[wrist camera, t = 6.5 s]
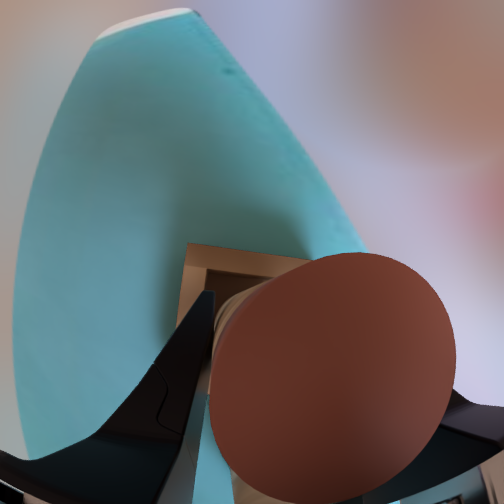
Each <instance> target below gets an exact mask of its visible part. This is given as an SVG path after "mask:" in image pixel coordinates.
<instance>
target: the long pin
mask: <svg viewBox="0 0 504 504" xmlns="http://www.w3.org/2000/svg"><path fill="white" fill-rule="evenodd" d="M455 369H456V348H455V339H454V334H453V329H452V325H451V322H450V319H449V316H448V314H447V312H446V309H445V307H444V305H443V303H442V301H441V300H440V298H439V296H438V295H437V293H436V292H435V290H434V289H433V288H432V287H431V286H430V285H429V283H428V282H427V281H426V280H425V279H424V278H423V277H421V276H420V275H419V274H418V273H417V272H416V271H414V270H413V269H411V268H410V267H408V266H406V265H405V264H403V263H400V262H398V261H396V260H393V259H392V258H389V257H385V256H381V255H377V254H370V253H361V252H358V253H341V254H336V255H331V256H326V257H323V258H320V259H317V260H314V261H311V262H308V263H306V264H304V265H301V266H299V267H297V268H295V269H292V270H290V271H288V272H286V273H284V274H281V275H279V276H277V277H275V278H272V279H270V280H268V281H265V282H263V283H261V284H259V285H256V286H254V287H252V288H249V289H247V290H245V291H242V292H240V293H238V294H236V295H233V296H232V297H230V298H228V299H227V300H226V301H225V302H224V303H223V304H222V305H221V307H220V308H219V310H218V312H217V314H216V317H215V323H214V338H213V350H212V366H211V382H210V400H209V410H210V420H211V427H212V430H213V434H214V437H215V441H216V443H217V446H218V448H219V450H220V452H221V454H222V456H223V458H224V459H225V461H226V462H227V463H228V465H229V466H230V468H231V469H232V470H233V471H234V472H235V473H236V474H237V475H238V476H239V477H240V478H241V479H242V480H243V481H244V482H245V483H247V484H248V485H249V486H251V487H252V488H254V489H255V490H257V491H259V492H261V493H263V494H265V495H267V496H269V497H272V498H274V499H277V500H280V501H284V502H289V503H295V504H330V503H335V502H340V501H345V500H348V499H351V498H354V497H358V496H360V495H362V494H365V493H367V492H369V491H371V490H373V489H375V488H377V487H379V486H380V485H382V484H384V483H386V482H387V481H389V480H390V479H391V478H393V477H394V476H396V475H397V474H398V473H399V472H401V471H402V470H403V469H404V468H405V467H406V466H408V465H409V464H410V463H411V462H412V461H413V460H414V459H415V457H416V456H417V455H418V454H419V453H420V452H421V451H422V449H423V448H424V447H425V446H426V444H427V443H428V442H429V440H430V439H431V437H432V436H433V434H434V432H435V431H436V429H437V427H438V425H439V424H440V422H441V420H442V417H443V415H444V413H445V411H446V408H447V405H448V403H449V400H450V396H451V392H452V389H453V384H454V378H455Z"/></svg>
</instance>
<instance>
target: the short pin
mask: <svg viewBox="0 0 504 504" xmlns="http://www.w3.org/2000/svg"><path fill="white" fill-rule="evenodd" d="M230 472H231V481H232V488H233V496H234V504H295V503H289V502H284V501H280V500H277V499H274V498H272V497H269V496H267V495H265V494H263V493H261V492H259V491H257V490H255V489H254V488H252V487H251V486H249V485H248V484H247V483H245V482H244V481H243V480H242V479H241V478H240V477H239V476H238V475H237V474H236V473H235V472H234V471H233V470H232V469H231V468H230Z"/></svg>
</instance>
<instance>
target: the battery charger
mask: <svg viewBox="0 0 504 504" xmlns="http://www.w3.org/2000/svg"><path fill="white" fill-rule="evenodd" d="M336 504H364V503H363V496H362V495H360V496H358V497H354V498H351V499H348V500H345V501H341V502H338V503H336Z"/></svg>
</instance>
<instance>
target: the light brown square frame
mask: <svg viewBox="0 0 504 504" xmlns="http://www.w3.org/2000/svg"><path fill="white" fill-rule="evenodd" d="M311 261H314V260H307V259H300V258H292V257H285V256H278V255H271V254H264V253H257V252H250V251H243V250H236V249H229V248H222V247H215V246H208V245H201V244H194V243H188V244H187V250H186V257H185V263H184V270H183V277H182V284H181V291H180V298H179V306H178V314H177V322H176V328H177V327H178V325H179V324H180V322H181V321H182V319H183V318H184V316H185V315H186V313H187V312H188V311H189V309H190V308H191V306H192V305H193V303H194V302H195V300H196V299H197V297H198V296H199V295H200V293H201V292H202V291H203V290H211V291H215V317H216V314H217V312H218V310H219V308H220V307H221V305H222V304H223V303H224V302H225V301H226V300H227V299H228V298H230V297H232V296H233V295H236V294H238V293H240V292H242V291H245V290H247V289H249V288H252V287H254V286H256V285H259V284H261V283H263V282H265V281H268V280H270V279H272V278H275V277H277V276H279V275H281V274H284V273H286V272H288V271H290V270H292V269H295V268H297V267H299V266H301V265H304V264H306V263H308V262H311ZM214 323H215V319H214ZM210 382H211V374H210V380H209V386H208V393H207V394H209V395H210Z"/></svg>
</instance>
